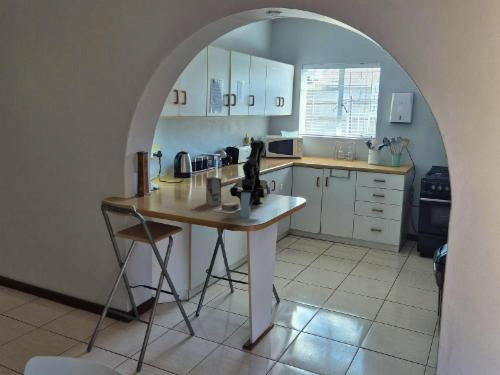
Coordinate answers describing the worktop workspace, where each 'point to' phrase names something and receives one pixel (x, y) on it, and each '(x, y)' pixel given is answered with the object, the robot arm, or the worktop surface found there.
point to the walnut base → (229, 208)
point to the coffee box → (213, 191)
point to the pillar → (245, 204)
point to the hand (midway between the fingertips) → (245, 205)
